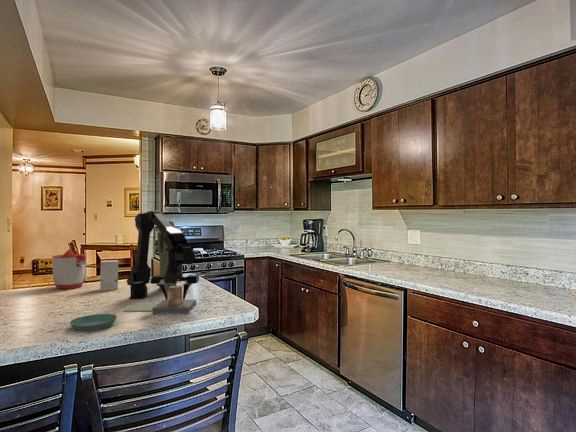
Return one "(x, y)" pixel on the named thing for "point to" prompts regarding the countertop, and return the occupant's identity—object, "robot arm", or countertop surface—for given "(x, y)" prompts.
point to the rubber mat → (140, 308)
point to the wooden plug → (175, 295)
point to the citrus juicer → (69, 270)
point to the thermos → (164, 254)
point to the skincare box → (109, 275)
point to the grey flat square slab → (174, 307)
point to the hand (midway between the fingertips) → (175, 299)
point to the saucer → (93, 322)
